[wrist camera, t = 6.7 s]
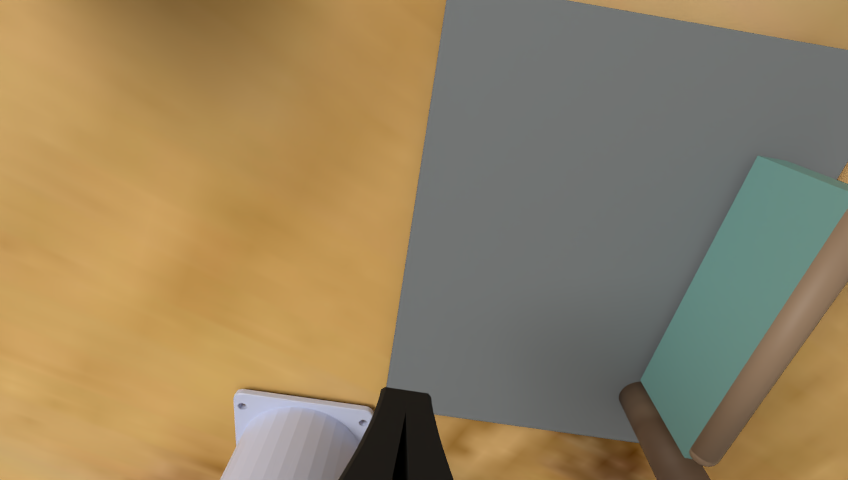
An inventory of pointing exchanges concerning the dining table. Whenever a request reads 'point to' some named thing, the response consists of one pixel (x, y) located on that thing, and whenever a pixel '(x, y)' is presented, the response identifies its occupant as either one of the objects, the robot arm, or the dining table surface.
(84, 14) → the dining table surface
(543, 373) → the slate mat
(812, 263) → the gate
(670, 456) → the hinge post
